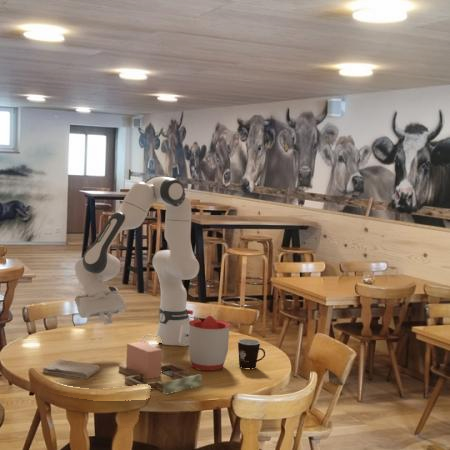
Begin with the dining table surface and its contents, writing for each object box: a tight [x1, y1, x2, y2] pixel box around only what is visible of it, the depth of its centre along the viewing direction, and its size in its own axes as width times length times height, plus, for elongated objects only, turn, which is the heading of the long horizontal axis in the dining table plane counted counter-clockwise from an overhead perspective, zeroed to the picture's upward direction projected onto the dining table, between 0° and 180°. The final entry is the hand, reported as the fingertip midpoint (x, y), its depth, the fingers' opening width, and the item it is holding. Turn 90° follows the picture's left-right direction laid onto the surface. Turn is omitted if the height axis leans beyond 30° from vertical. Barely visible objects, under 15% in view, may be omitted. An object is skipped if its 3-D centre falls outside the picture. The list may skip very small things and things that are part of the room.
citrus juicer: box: [188, 315, 231, 371], centre depth 261 cm, size 16×17×20 cm
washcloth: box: [42, 359, 101, 380], centre depth 246 cm, size 12×18×3 cm, turn 76°
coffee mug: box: [237, 338, 266, 370], centre depth 262 cm, size 12×9×10 cm
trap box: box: [118, 363, 202, 395], centre depth 243 cm, size 24×29×4 cm
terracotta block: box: [125, 341, 163, 380], centre depth 248 cm, size 6×13×10 cm, turn 44°
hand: (109, 323), depth 264 cm, fingers closed
